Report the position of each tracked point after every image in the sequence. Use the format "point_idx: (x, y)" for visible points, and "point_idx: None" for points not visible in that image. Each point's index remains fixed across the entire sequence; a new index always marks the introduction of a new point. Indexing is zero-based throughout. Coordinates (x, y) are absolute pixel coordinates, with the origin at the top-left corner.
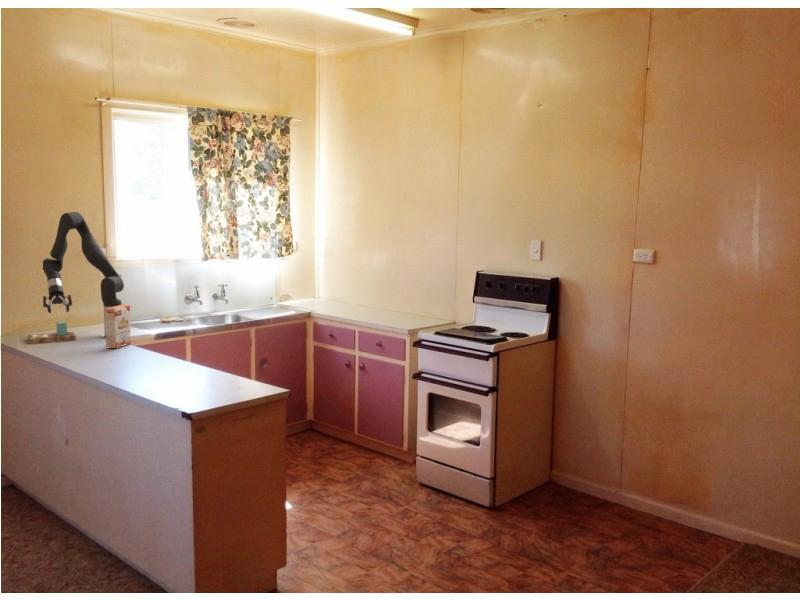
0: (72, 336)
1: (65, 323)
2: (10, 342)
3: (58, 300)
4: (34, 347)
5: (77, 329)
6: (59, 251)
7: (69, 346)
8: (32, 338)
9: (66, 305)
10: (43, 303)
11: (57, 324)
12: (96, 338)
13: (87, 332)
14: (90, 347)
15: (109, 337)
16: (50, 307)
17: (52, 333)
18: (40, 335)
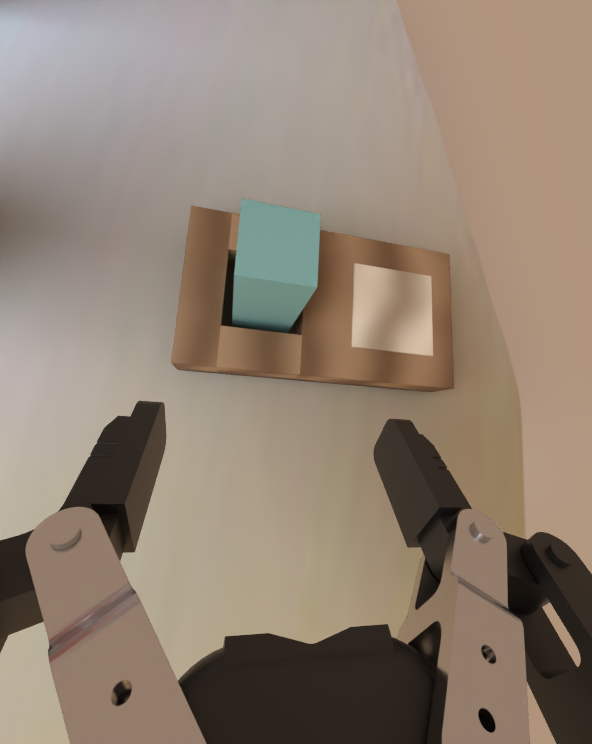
0: (213, 212)
1: (250, 203)
2: (505, 386)
3: (292, 691)
4: (412, 203)
5: (46, 716)
6: None
7: (260, 125)
8: (434, 268)
9: (122, 487)
10: (586, 571)
11: (316, 218)
12: (41, 246)
13: (15, 518)
14: (167, 38)
15: None
16: (420, 469)
17: (314, 368)
18: (391, 323)
